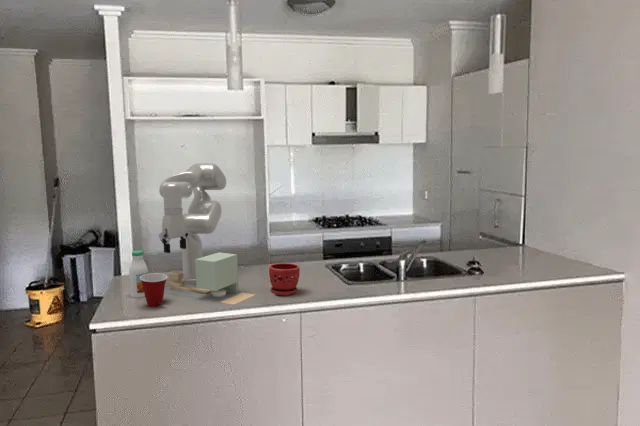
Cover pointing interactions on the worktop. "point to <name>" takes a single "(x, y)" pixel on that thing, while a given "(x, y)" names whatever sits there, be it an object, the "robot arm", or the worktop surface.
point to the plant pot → (284, 278)
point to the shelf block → (217, 272)
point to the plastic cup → (153, 288)
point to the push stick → (183, 284)
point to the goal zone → (237, 298)
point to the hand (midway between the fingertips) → (175, 250)
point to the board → (198, 295)
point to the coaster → (219, 293)
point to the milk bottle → (137, 274)
